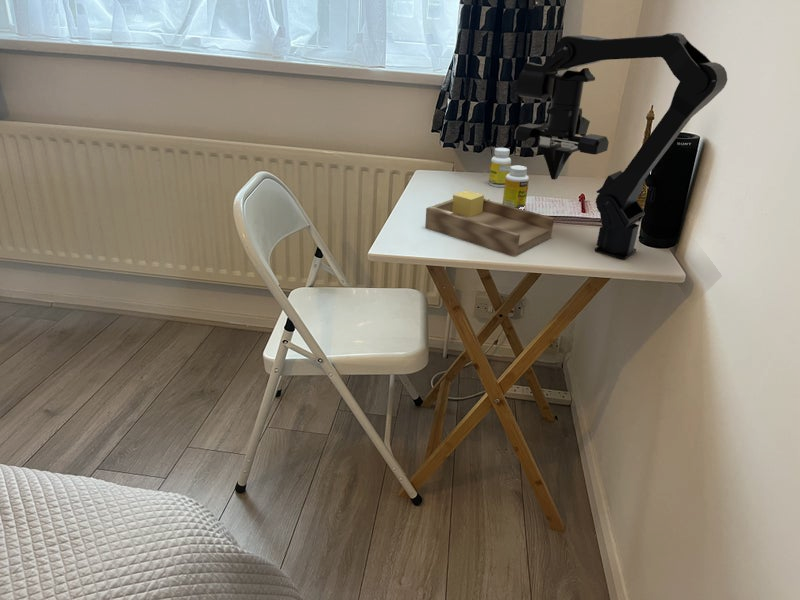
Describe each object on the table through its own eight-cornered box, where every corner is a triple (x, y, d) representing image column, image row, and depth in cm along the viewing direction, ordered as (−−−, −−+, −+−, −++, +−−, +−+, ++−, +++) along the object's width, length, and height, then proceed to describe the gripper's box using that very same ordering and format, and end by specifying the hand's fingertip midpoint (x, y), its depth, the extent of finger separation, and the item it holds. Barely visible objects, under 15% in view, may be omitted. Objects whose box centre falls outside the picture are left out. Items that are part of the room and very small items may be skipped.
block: (482, 212, 139) (484, 195, 137) (469, 217, 136) (471, 199, 134) (464, 207, 142) (466, 190, 140) (451, 211, 139) (453, 194, 137)
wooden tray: (550, 237, 131) (554, 216, 129) (514, 256, 121) (517, 233, 119) (464, 212, 145) (466, 192, 142) (425, 227, 134) (426, 206, 132)
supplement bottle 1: (486, 182, 169) (489, 146, 165) (504, 181, 170) (508, 146, 165) (492, 187, 164) (495, 151, 160) (511, 187, 165) (515, 151, 161)
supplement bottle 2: (517, 213, 145) (522, 171, 141) (497, 208, 149) (502, 167, 144) (529, 208, 149) (534, 167, 144) (510, 203, 152) (514, 163, 148)
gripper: (626, 105, 122) (611, 181, 129) (544, 93, 133) (534, 164, 140) (602, 111, 115) (588, 191, 122) (517, 98, 125) (508, 173, 132)
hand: (554, 179), depth 129 cm, fingers closed
